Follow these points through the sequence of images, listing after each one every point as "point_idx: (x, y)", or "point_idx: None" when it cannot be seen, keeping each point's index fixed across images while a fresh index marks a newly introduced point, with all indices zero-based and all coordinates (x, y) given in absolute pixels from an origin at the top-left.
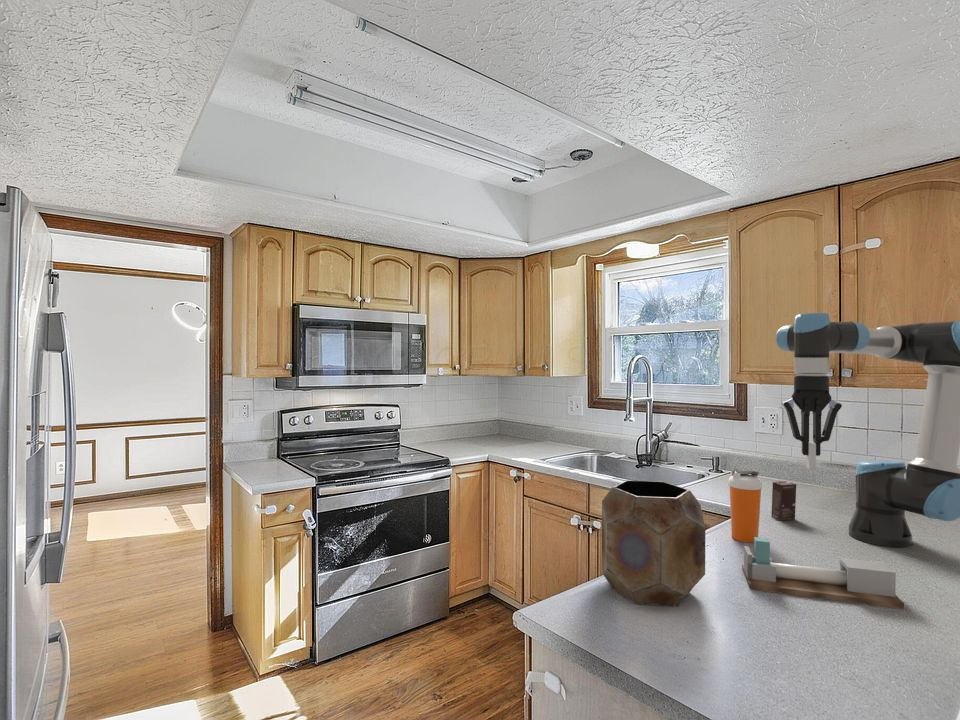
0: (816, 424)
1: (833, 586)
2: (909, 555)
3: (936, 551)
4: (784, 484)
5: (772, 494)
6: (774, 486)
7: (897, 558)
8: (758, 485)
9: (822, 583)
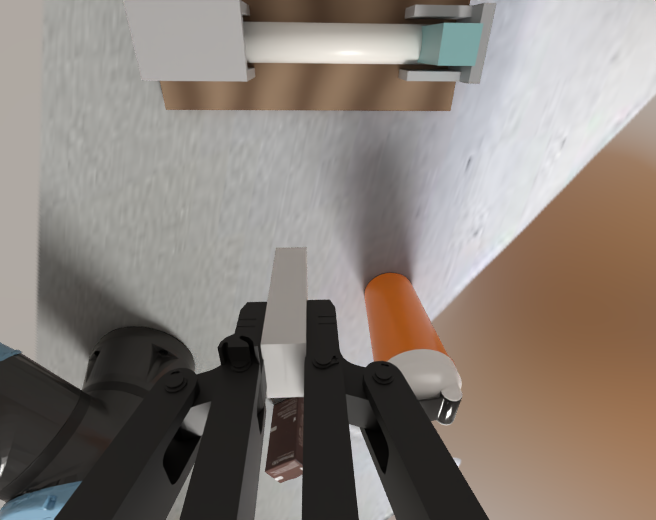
0: (229, 510)
1: None
2: (104, 296)
3: (59, 329)
4: (289, 464)
5: None
6: None
7: (126, 275)
8: None
9: None
